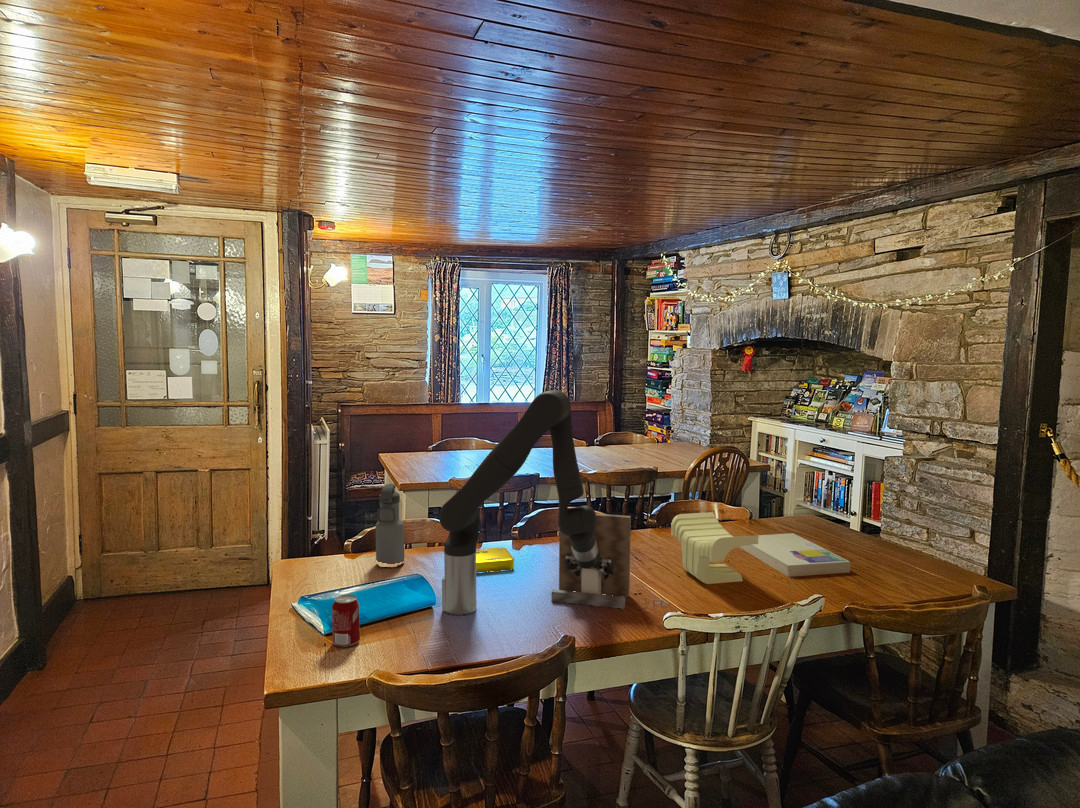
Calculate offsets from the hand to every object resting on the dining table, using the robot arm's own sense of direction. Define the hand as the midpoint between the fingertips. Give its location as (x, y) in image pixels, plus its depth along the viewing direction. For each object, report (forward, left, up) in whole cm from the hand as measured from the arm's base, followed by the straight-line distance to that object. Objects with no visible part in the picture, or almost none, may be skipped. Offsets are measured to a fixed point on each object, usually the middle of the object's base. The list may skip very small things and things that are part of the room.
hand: (592, 575), depth 209 cm
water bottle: (-74, +10, -7) cm, 75 cm away
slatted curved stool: (+35, +29, -7) cm, 46 cm away
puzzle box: (+62, +57, -7) cm, 85 cm away
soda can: (-55, -50, -7) cm, 75 cm away
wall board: (0, -2, -7) cm, 7 cm away
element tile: (-40, +19, -7) cm, 45 cm away
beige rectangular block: (0, -1, -7) cm, 7 cm away
